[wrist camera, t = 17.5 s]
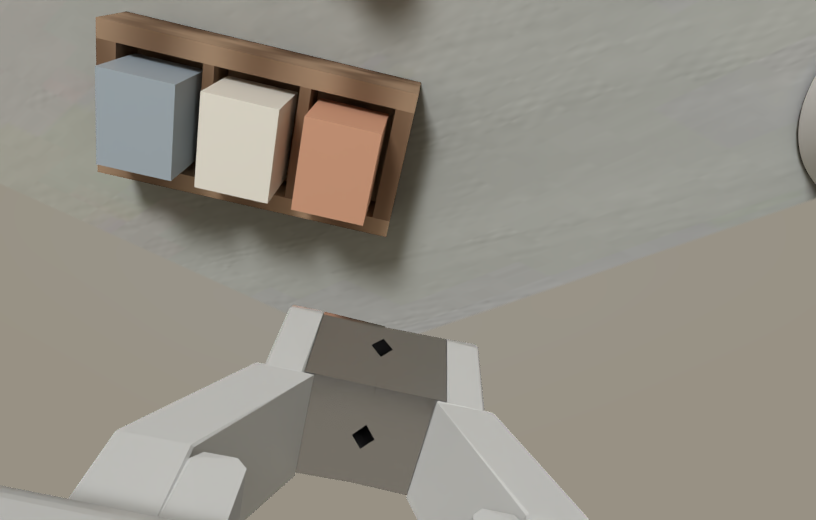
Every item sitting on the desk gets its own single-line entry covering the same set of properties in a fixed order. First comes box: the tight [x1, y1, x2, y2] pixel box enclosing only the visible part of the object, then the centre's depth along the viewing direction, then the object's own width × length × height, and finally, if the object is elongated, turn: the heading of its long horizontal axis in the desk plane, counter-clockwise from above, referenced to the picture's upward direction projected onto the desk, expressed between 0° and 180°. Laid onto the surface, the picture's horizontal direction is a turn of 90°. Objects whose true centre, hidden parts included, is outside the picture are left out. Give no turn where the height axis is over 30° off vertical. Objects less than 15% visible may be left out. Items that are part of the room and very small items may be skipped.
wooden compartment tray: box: [96, 12, 421, 237], centre depth 41 cm, size 20×10×4 cm, turn 77°
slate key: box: [95, 53, 203, 181], centre depth 38 cm, size 5×6×5 cm
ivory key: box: [194, 76, 298, 204], centre depth 38 cm, size 5×6×5 cm
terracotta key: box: [291, 98, 389, 226], centre depth 39 cm, size 5×6×5 cm
